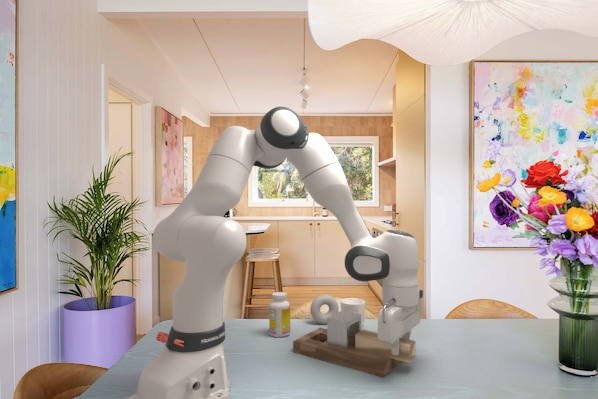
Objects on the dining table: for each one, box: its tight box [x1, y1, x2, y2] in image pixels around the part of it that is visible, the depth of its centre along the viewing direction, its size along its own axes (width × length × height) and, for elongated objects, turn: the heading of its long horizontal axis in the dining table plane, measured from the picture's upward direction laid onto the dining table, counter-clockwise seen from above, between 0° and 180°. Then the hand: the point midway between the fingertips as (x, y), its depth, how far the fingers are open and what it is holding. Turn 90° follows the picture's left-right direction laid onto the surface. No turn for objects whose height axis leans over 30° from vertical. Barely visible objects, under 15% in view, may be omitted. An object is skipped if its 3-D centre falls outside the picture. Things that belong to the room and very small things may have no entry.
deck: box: [292, 327, 402, 378], centre depth 105 cm, size 14×27×3 cm, turn 54°
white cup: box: [340, 297, 366, 330], centre depth 123 cm, size 8×8×10 cm
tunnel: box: [326, 310, 361, 350], centre depth 106 cm, size 8×6×8 cm
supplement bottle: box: [268, 291, 291, 338], centre depth 122 cm, size 7×7×13 cm
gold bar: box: [355, 329, 417, 364], centre depth 99 cm, size 4×14×4 cm, turn 54°
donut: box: [309, 294, 339, 325], centre depth 132 cm, size 10×4×10 cm, turn 102°
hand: (400, 350), depth 97 cm, fingers closed on gold bar, 4 cm apart
